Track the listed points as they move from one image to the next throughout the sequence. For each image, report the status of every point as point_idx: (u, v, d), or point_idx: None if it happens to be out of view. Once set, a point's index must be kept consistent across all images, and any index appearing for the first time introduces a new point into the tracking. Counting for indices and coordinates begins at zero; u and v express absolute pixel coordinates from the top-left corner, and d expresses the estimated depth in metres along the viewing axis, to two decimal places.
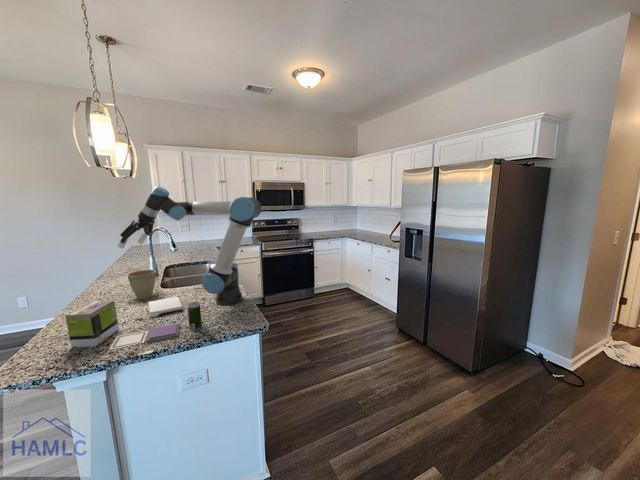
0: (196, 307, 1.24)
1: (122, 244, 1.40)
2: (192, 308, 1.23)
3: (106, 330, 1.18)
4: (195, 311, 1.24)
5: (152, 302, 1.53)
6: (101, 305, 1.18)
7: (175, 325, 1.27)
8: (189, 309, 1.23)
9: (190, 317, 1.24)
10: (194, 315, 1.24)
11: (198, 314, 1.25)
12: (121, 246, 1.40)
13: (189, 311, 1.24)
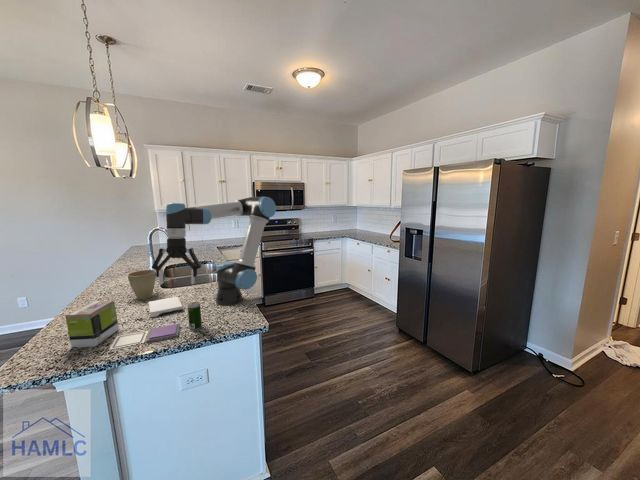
0: (196, 307, 1.24)
1: (194, 278, 1.25)
2: (192, 308, 1.23)
3: (106, 330, 1.18)
4: (195, 311, 1.24)
5: (152, 302, 1.53)
6: (101, 305, 1.18)
7: (175, 325, 1.27)
8: (189, 309, 1.23)
9: (190, 317, 1.24)
10: (194, 315, 1.24)
11: (198, 314, 1.25)
12: (194, 281, 1.25)
13: (189, 311, 1.24)
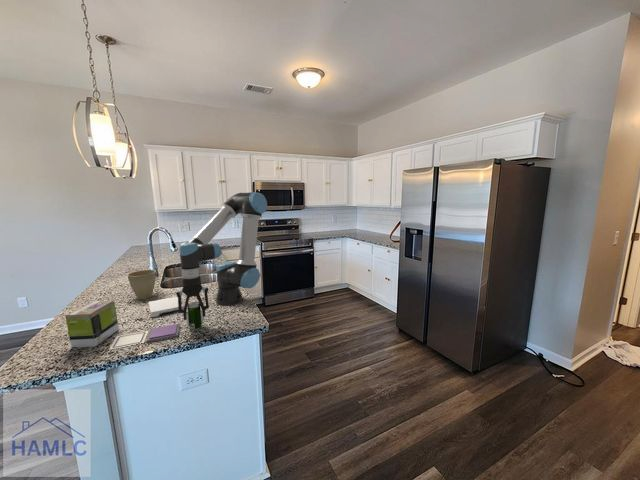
0: (196, 307, 1.24)
1: None
2: (192, 308, 1.23)
3: (106, 330, 1.18)
4: (195, 311, 1.24)
5: (152, 302, 1.53)
6: (101, 305, 1.18)
7: (175, 325, 1.27)
8: (189, 309, 1.23)
9: (190, 317, 1.24)
10: (194, 315, 1.24)
11: (198, 314, 1.25)
12: None
13: (189, 311, 1.24)
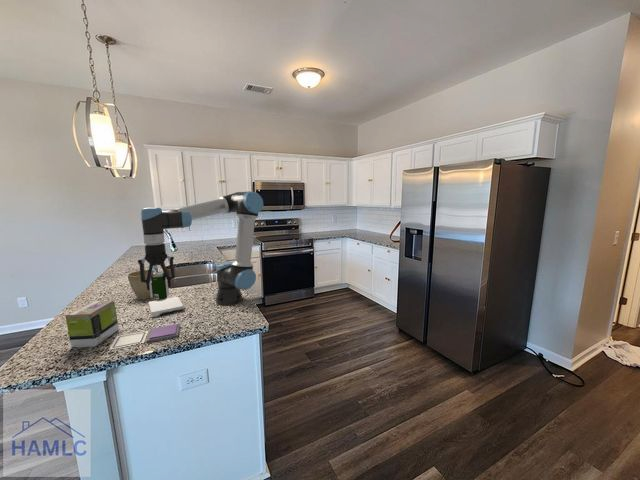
0: (160, 276, 1.16)
1: (168, 289, 1.21)
2: (155, 277, 1.16)
3: (106, 330, 1.18)
4: (159, 281, 1.16)
5: (152, 302, 1.53)
6: (101, 305, 1.18)
7: (175, 325, 1.27)
8: (152, 278, 1.16)
9: (153, 287, 1.16)
10: (158, 285, 1.16)
11: (162, 284, 1.17)
12: (168, 291, 1.21)
13: (152, 280, 1.16)
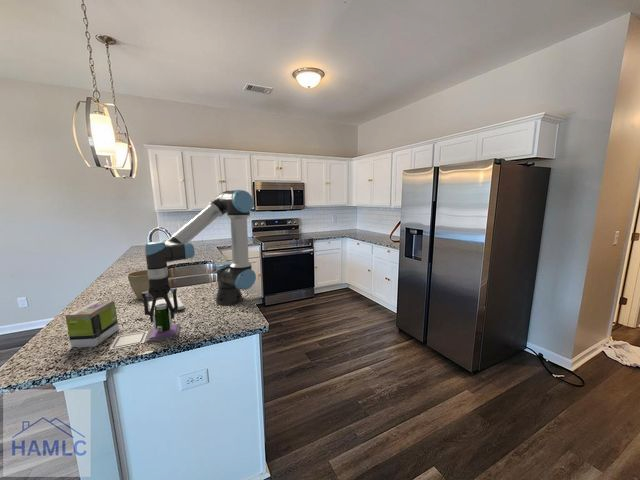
0: (163, 309, 1.19)
1: (171, 320, 1.23)
2: (159, 310, 1.18)
3: (106, 330, 1.18)
4: (162, 313, 1.18)
5: None
6: (101, 305, 1.18)
7: (175, 325, 1.27)
8: (156, 311, 1.18)
9: (157, 319, 1.18)
10: (161, 317, 1.18)
11: (166, 316, 1.20)
12: None
13: (156, 313, 1.18)
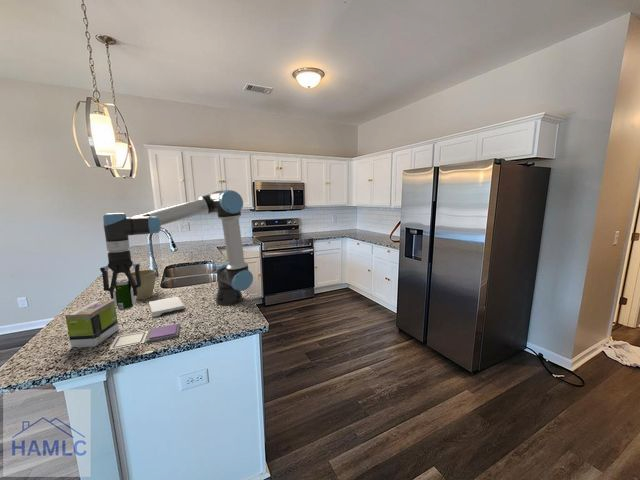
0: (124, 284, 1.12)
1: (134, 297, 1.16)
2: (119, 285, 1.11)
3: (106, 330, 1.18)
4: (123, 289, 1.11)
5: (153, 302, 1.53)
6: (101, 305, 1.18)
7: (175, 325, 1.27)
8: (116, 287, 1.11)
9: (118, 296, 1.11)
10: (122, 293, 1.11)
11: (127, 292, 1.13)
12: (135, 300, 1.16)
13: (116, 289, 1.11)
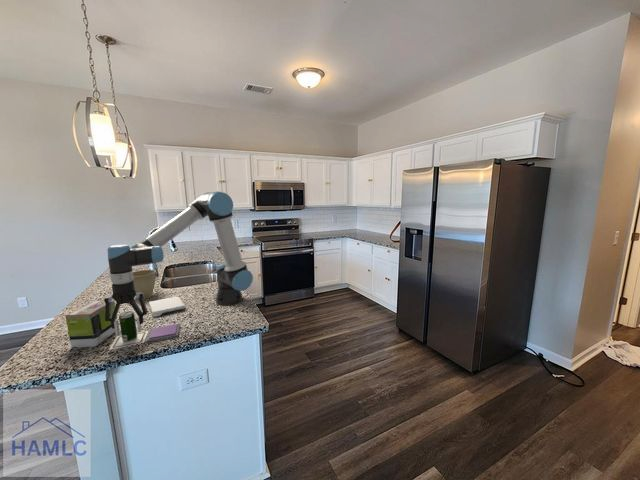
0: (128, 317, 1.14)
1: (140, 325, 1.18)
2: (123, 318, 1.13)
3: (106, 330, 1.18)
4: (127, 322, 1.13)
5: (153, 302, 1.53)
6: (101, 305, 1.18)
7: (175, 325, 1.27)
8: (120, 319, 1.13)
9: (122, 328, 1.13)
10: (126, 326, 1.13)
11: (131, 325, 1.15)
12: (141, 328, 1.19)
13: (120, 322, 1.13)
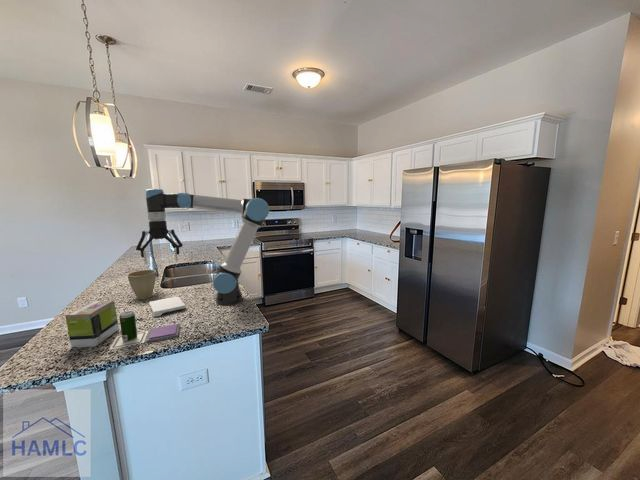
0: (129, 317, 1.14)
1: None
2: (124, 318, 1.13)
3: (106, 330, 1.18)
4: (127, 321, 1.14)
5: (153, 302, 1.54)
6: (101, 305, 1.18)
7: (175, 325, 1.27)
8: (121, 319, 1.13)
9: (122, 328, 1.14)
10: (126, 326, 1.14)
11: (131, 324, 1.15)
12: (177, 258, 1.41)
13: (121, 321, 1.13)
